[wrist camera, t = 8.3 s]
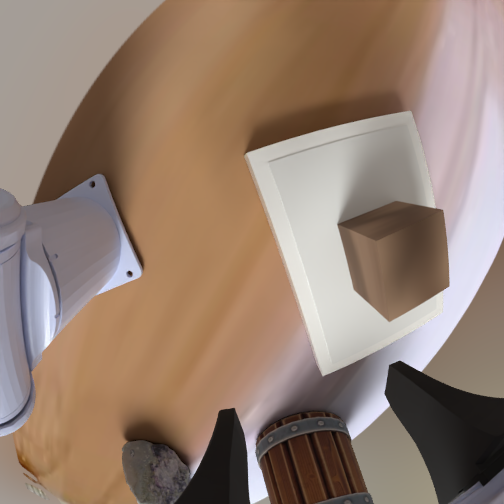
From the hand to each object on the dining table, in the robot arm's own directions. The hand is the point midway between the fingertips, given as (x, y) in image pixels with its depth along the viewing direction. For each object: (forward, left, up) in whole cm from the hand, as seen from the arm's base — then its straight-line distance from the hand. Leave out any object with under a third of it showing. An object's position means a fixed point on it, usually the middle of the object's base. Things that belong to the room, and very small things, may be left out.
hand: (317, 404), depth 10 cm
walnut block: (+8, +2, -8) cm, 12 cm away
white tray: (+8, +2, -10) cm, 13 cm away
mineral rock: (-21, -18, -11) cm, 30 cm away
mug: (-4, -20, -11) cm, 23 cm away
